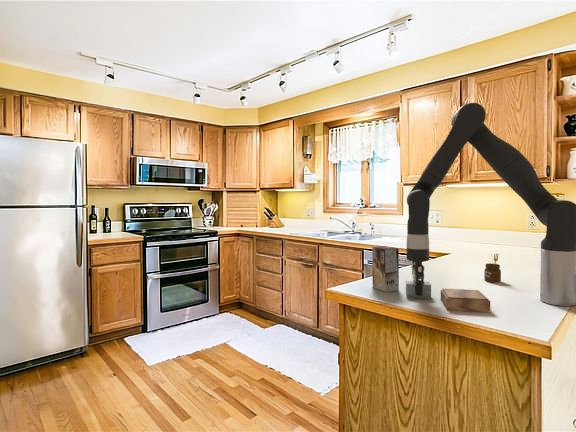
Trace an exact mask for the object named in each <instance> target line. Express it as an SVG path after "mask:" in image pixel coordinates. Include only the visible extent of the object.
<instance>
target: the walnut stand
mask: <svg viewBox="0 0 576 432" xmlns="http://www.w3.org/2000/svg"><path fill="white" fill-rule="evenodd" d="M440 301H441V303H442V304H443V306H444V307H445V310H446V311H450V312H451V311H454V312H468V313H469V312H472V313H474V312H475V313H487V314H490V313H491V300H490V299H489V298H488V297H486V295H484V294H483V293H482V292H481V291H480V290H479V289H462V288H442V289H440Z"/></svg>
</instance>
